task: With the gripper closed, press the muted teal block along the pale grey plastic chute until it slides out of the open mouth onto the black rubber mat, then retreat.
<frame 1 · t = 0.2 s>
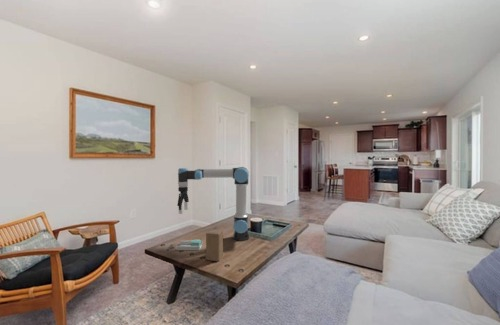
hand: (183, 211, 192), 27 cm above the table, fingers open, 13 cm apart
teal block: (196, 247, 185), point 1 cm above the table, touching chute
mat: (173, 247, 185), on the table
wooden block: (214, 258, 167), on the table
chute: (189, 247, 185), on the table
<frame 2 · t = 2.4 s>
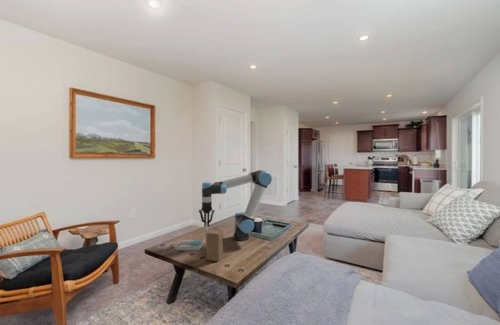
hand: (206, 230, 184), 14 cm above the table, fingers closed
nothing on the table moved.
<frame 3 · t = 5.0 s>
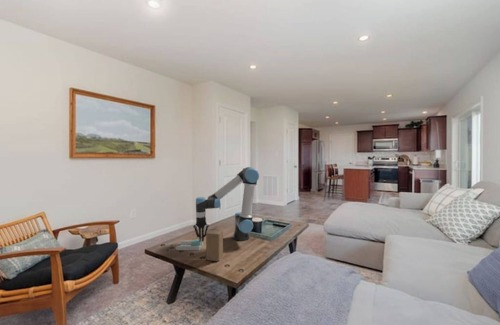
hand: (201, 245, 185), 2 cm above the table, fingers closed
teal block: (196, 247, 185), point 1 cm above the table, touching chute, gripper
everything else where it was.
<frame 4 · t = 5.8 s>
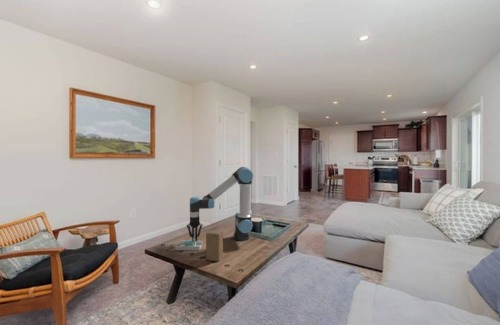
hand: (194, 245, 184), 2 cm above the table, fingers closed
teal block: (189, 247, 185), point 1 cm above the table, touching chute, gripper
everything else where it was.
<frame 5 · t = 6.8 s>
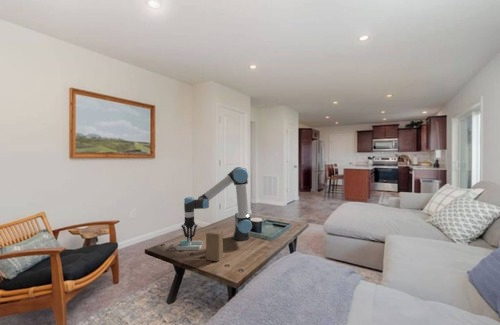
hand: (189, 245, 185), 2 cm above the table, fingers closed
teal block: (185, 247, 185), point 1 cm above the table, touching chute, gripper
everything else where it was.
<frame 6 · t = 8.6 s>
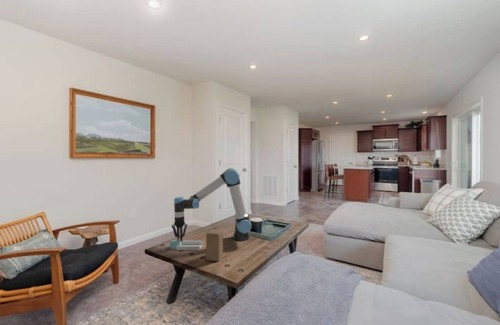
hand: (180, 245, 185), 2 cm above the table, fingers closed
teal block: (175, 247, 185), point 1 cm above the table, touching gripper
everything else where it was.
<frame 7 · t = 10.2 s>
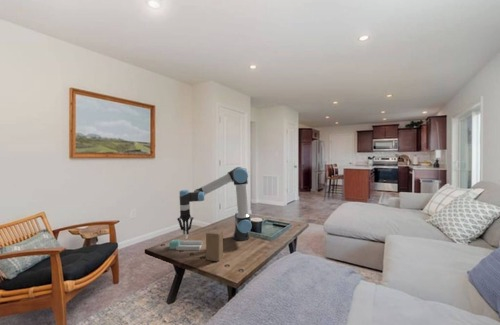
hand: (186, 238, 185), 8 cm above the table, fingers closed
teal block: (175, 247, 185), point 1 cm above the table, touching chute, mat
everything else where it was.
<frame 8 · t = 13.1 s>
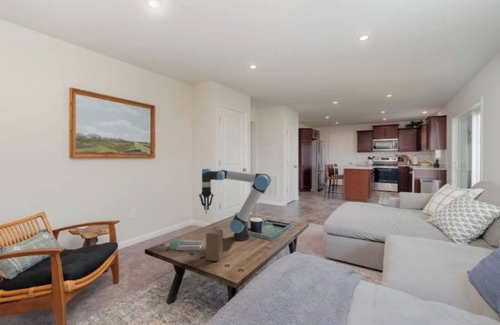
hand: (206, 213, 198), 24 cm above the table, fingers closed
nothing on the table moved.
at the end: teal block inside the target area (2.1 cm from its centre), point 0.5 cm above the table; teal block tilted 2° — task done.
